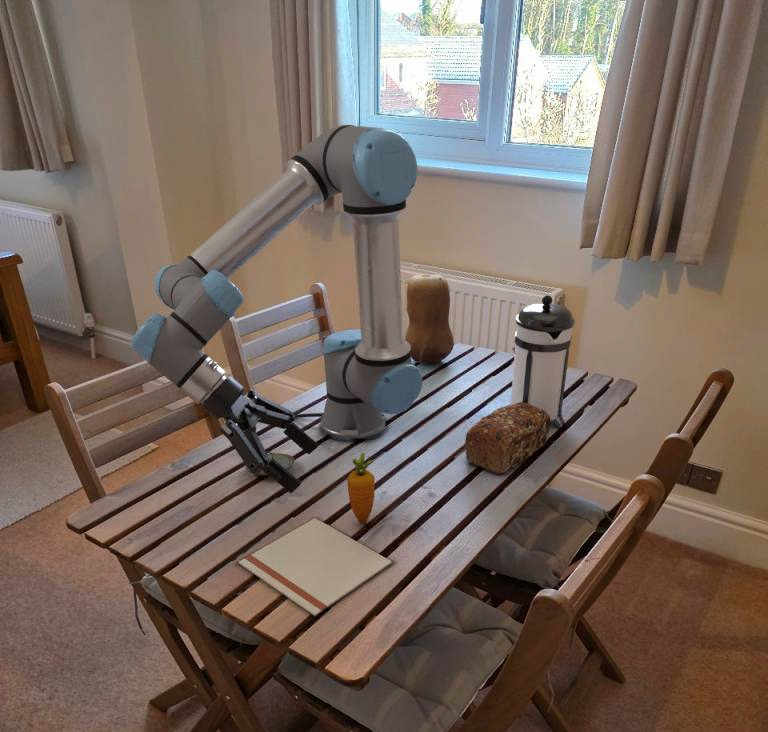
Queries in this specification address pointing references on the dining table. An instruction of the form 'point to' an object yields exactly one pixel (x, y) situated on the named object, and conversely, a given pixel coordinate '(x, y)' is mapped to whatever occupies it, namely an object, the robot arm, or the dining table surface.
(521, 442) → the bread
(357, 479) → the carrot
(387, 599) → the dining table surface
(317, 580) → the napkin
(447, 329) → the butternut squash
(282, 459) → the lid
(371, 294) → the robot arm
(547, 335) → the coffee press
